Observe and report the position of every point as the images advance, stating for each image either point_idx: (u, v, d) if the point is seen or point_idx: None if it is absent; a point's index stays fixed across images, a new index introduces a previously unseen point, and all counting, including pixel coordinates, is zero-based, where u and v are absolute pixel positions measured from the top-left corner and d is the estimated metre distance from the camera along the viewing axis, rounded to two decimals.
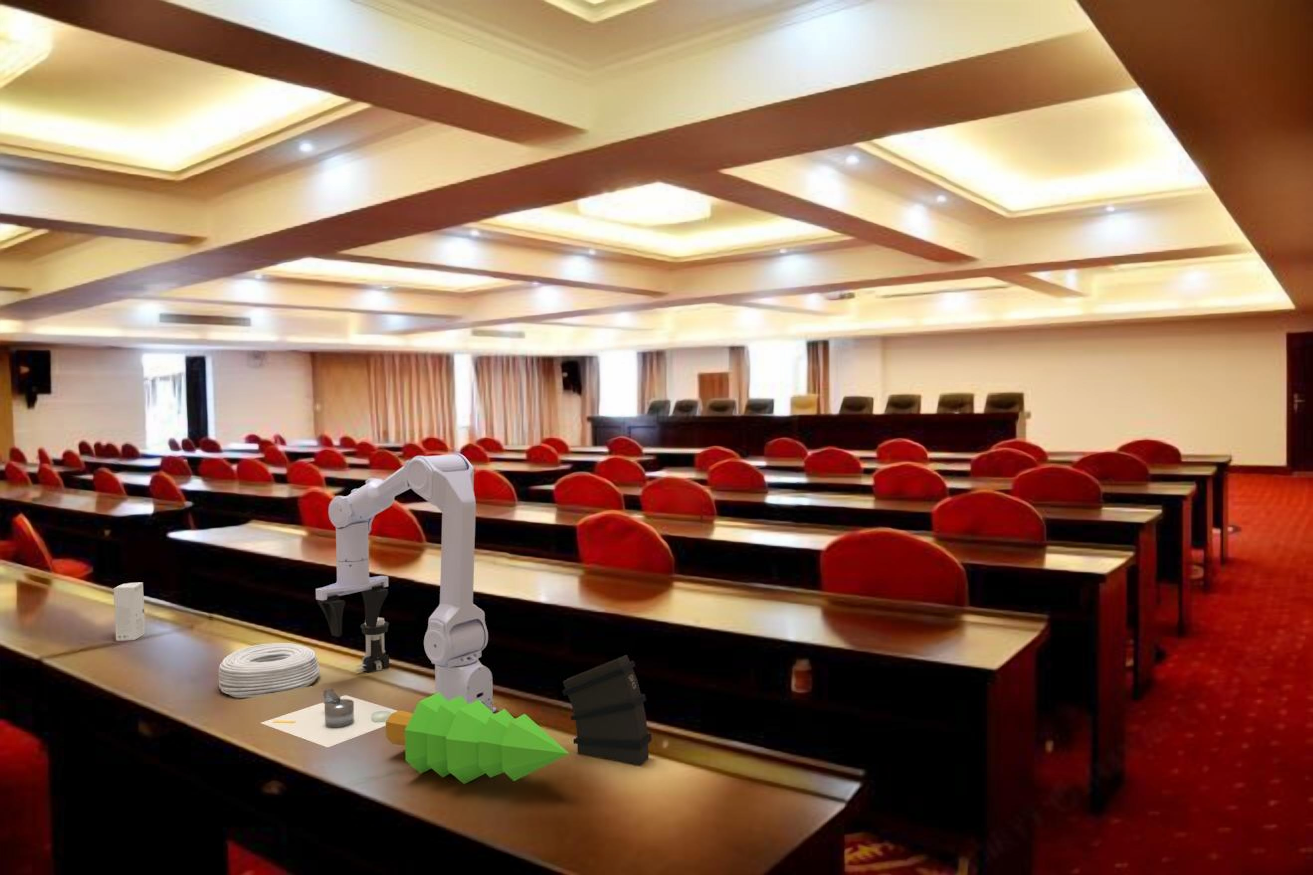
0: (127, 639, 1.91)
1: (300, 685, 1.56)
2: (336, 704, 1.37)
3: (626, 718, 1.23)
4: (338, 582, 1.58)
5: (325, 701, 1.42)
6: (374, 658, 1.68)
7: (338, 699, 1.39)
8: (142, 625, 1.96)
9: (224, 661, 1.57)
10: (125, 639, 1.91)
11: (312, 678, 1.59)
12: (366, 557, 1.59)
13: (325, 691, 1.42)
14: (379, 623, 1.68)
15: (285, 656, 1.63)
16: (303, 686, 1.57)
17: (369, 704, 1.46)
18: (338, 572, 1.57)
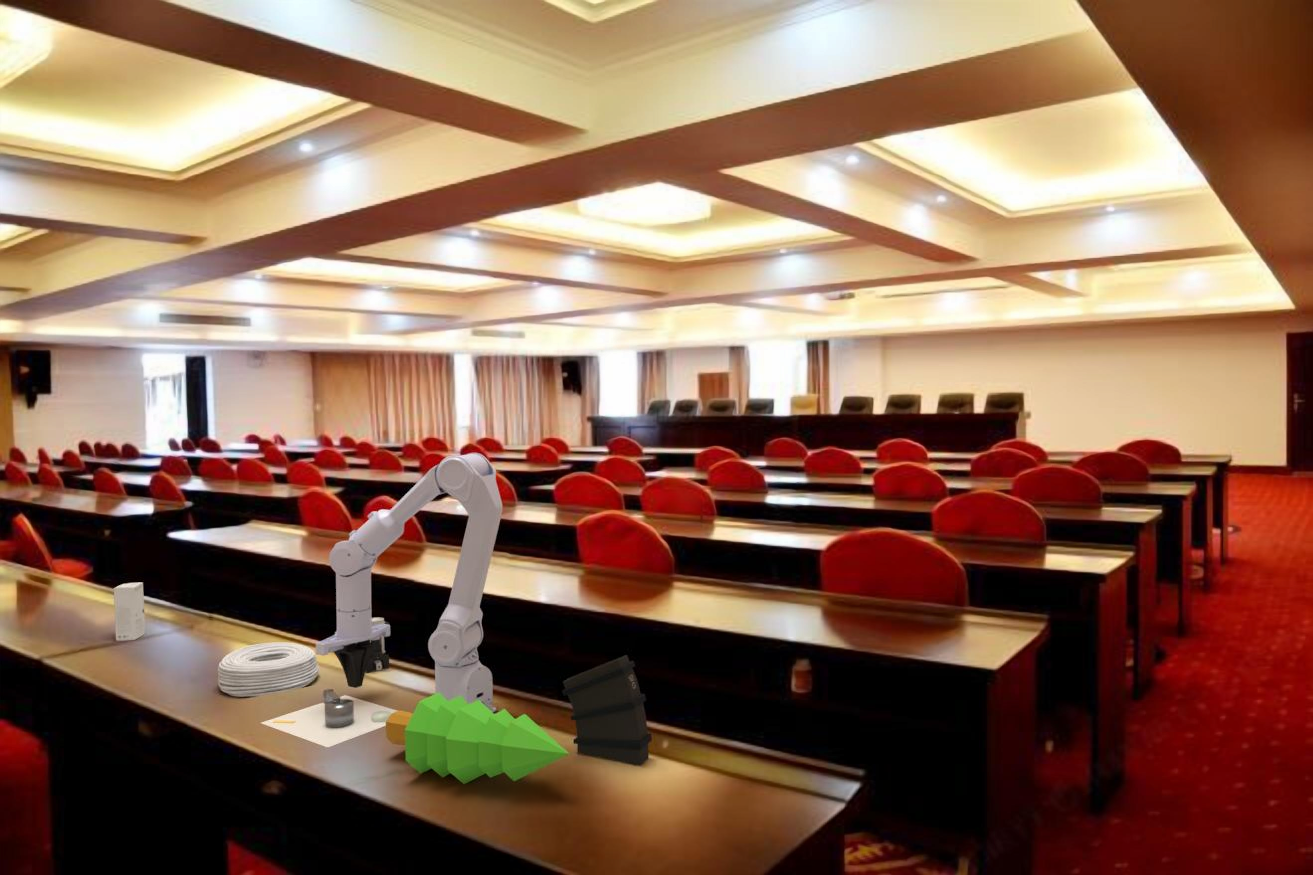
0: (127, 639, 1.91)
1: (299, 684, 1.57)
2: (336, 704, 1.37)
3: (626, 718, 1.23)
4: (339, 634, 1.45)
5: (325, 701, 1.42)
6: (374, 658, 1.68)
7: (338, 699, 1.39)
8: (142, 625, 1.96)
9: (223, 660, 1.58)
10: (125, 639, 1.91)
11: (311, 677, 1.60)
12: None
13: (325, 691, 1.42)
14: (379, 623, 1.68)
15: (284, 655, 1.64)
16: (302, 685, 1.57)
17: (369, 704, 1.46)
18: (339, 623, 1.45)
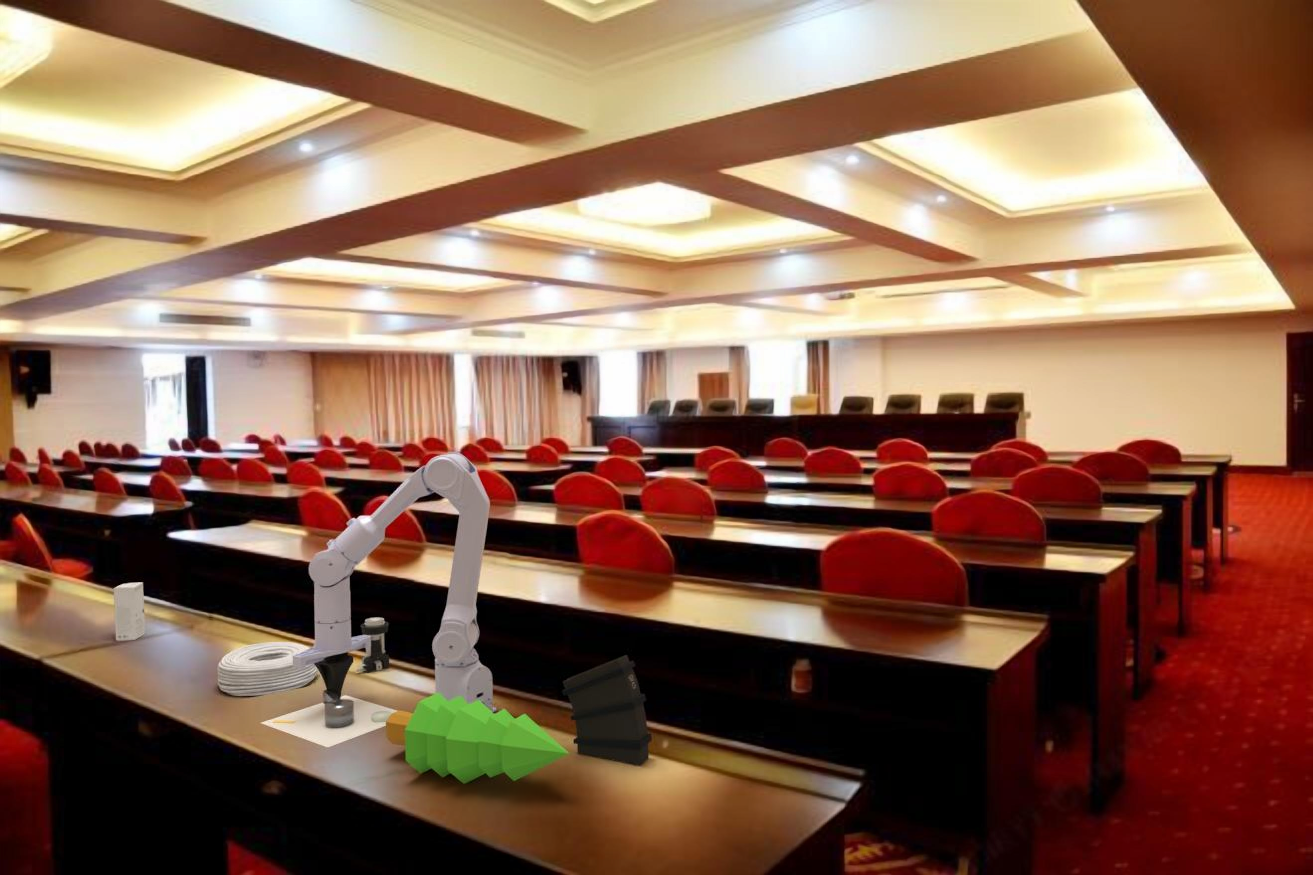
0: (127, 639, 1.91)
1: (298, 683, 1.57)
2: (336, 704, 1.37)
3: (626, 718, 1.23)
4: (317, 646, 1.42)
5: (325, 701, 1.42)
6: (374, 658, 1.68)
7: (338, 699, 1.39)
8: (142, 625, 1.96)
9: (223, 660, 1.58)
10: (125, 639, 1.91)
11: (310, 677, 1.60)
12: None
13: (325, 691, 1.42)
14: (379, 623, 1.68)
15: (284, 655, 1.64)
16: (301, 684, 1.58)
17: (369, 704, 1.46)
18: (317, 634, 1.41)
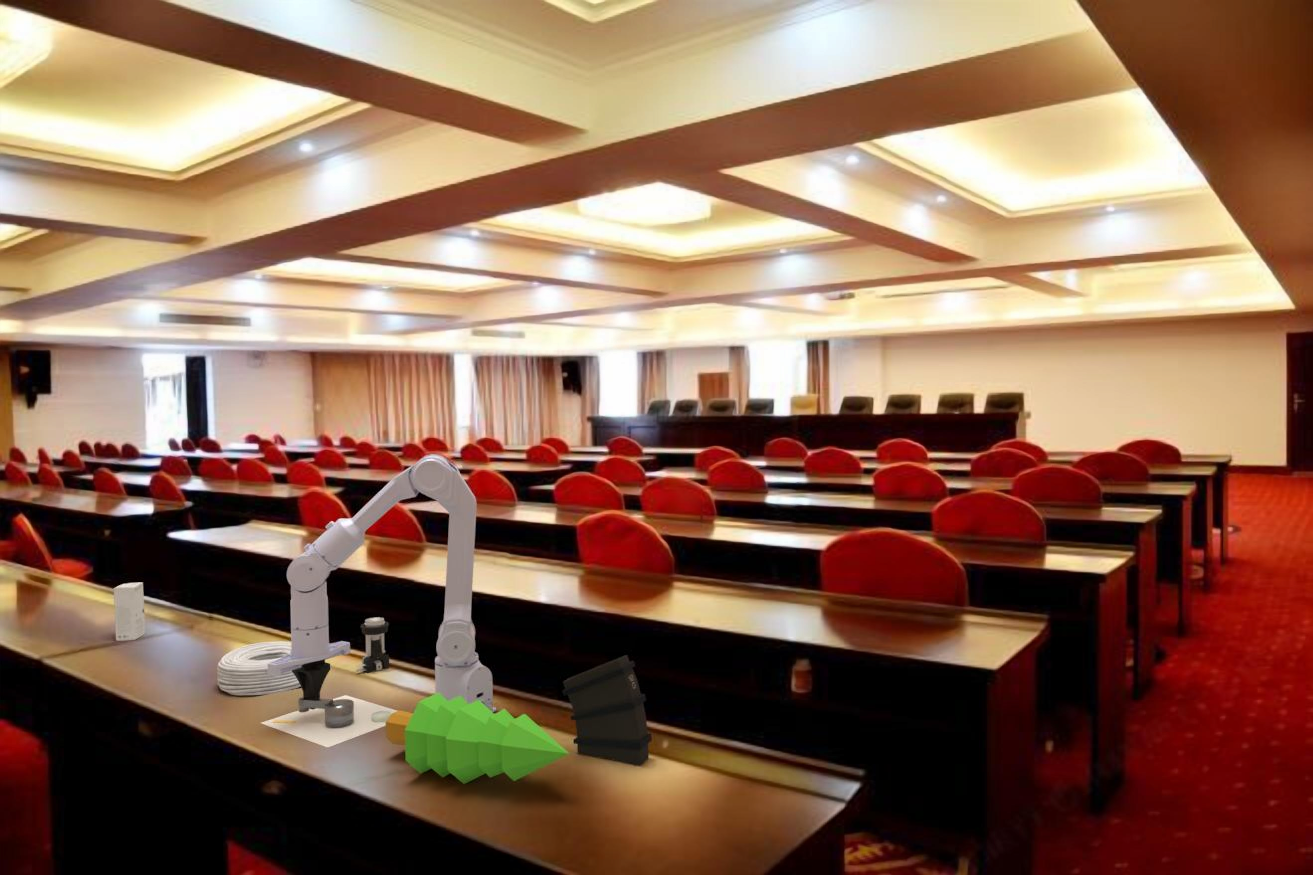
0: (127, 639, 1.91)
1: (298, 683, 1.57)
2: (337, 704, 1.37)
3: (626, 718, 1.23)
4: (293, 653, 1.38)
5: (304, 709, 1.38)
6: (374, 658, 1.68)
7: (332, 701, 1.38)
8: (142, 625, 1.96)
9: (223, 659, 1.58)
10: (125, 639, 1.91)
11: None
12: None
13: (302, 699, 1.38)
14: (379, 623, 1.68)
15: (283, 654, 1.64)
16: None
17: (369, 704, 1.46)
18: (294, 641, 1.37)
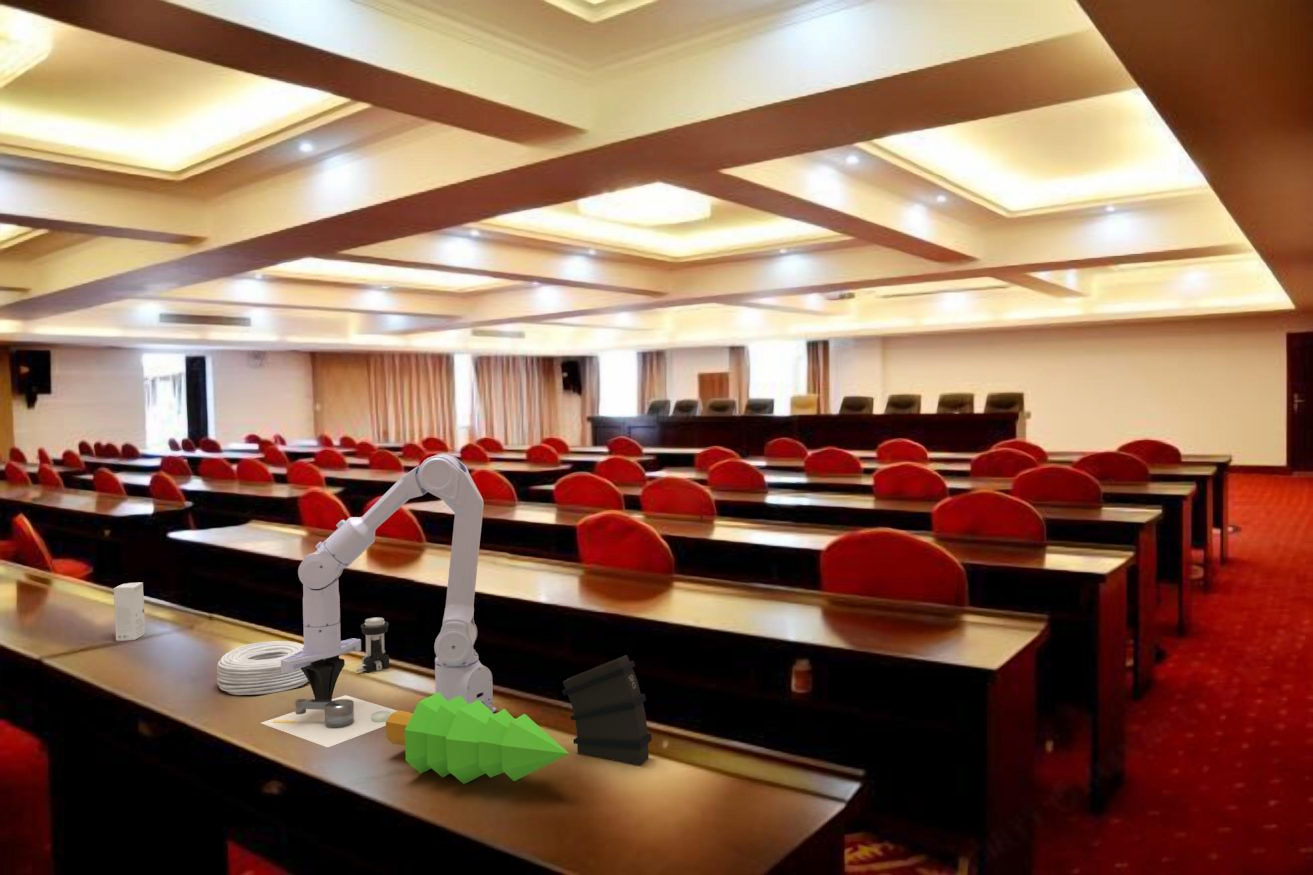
0: (127, 639, 1.91)
1: (297, 683, 1.57)
2: (338, 704, 1.37)
3: (626, 718, 1.23)
4: (306, 650, 1.40)
5: (301, 711, 1.37)
6: (374, 658, 1.68)
7: (331, 701, 1.38)
8: (142, 625, 1.96)
9: (222, 659, 1.59)
10: (125, 639, 1.91)
11: None
12: None
13: (299, 701, 1.37)
14: (379, 623, 1.68)
15: (283, 654, 1.65)
16: (300, 684, 1.58)
17: (369, 704, 1.46)
18: (306, 638, 1.39)
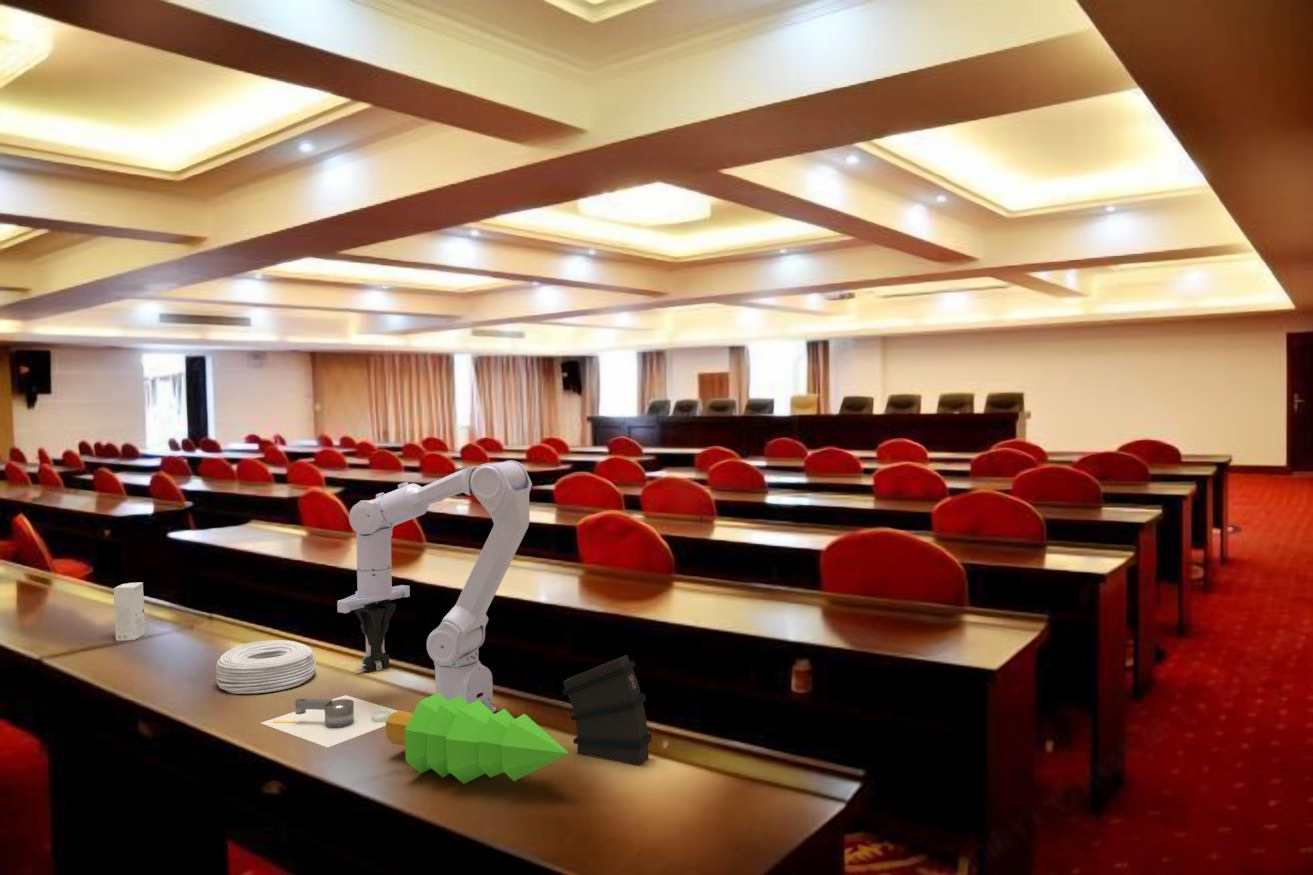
0: (127, 639, 1.91)
1: (296, 682, 1.58)
2: (338, 704, 1.37)
3: (626, 718, 1.23)
4: (359, 593, 1.47)
5: (301, 711, 1.37)
6: (374, 658, 1.68)
7: (331, 701, 1.38)
8: (142, 625, 1.96)
9: (222, 658, 1.60)
10: (125, 639, 1.91)
11: (308, 675, 1.61)
12: (390, 565, 1.49)
13: (299, 701, 1.37)
14: None
15: (282, 653, 1.65)
16: (299, 683, 1.59)
17: (369, 704, 1.46)
18: (360, 582, 1.46)
